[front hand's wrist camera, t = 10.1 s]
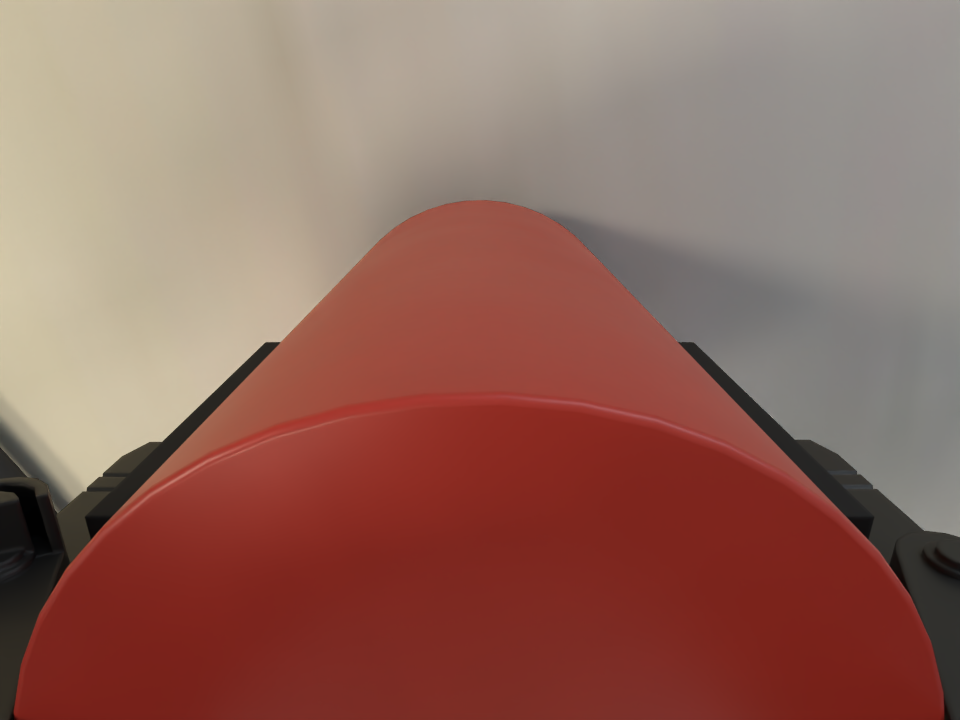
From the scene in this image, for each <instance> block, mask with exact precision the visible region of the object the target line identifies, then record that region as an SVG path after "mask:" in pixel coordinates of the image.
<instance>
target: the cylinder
mask: <svg viewBox="0 0 960 720" xmlns="http://www.w3.org/2000/svg"><path fill="white" fill-rule="evenodd" d="M14 720H944V693H943V689H942V685H941V680H940V676H939V672H938V668H937V663H936V659H935V655H934V651H933V647H932V643H931V640H930V638H929V636H928V634H927V632H926V629H925V627H924V625H923V623H922V621H921V618H920V616H919V614H918V612H917V609H916V607H915V605H914V603H913V601H912V598H911V596H910V595H909V593H908V592H907V590H906V589H905V587H904V586H903V584H902V583H901V582H900V580H899V579H898V577H897V576H896V574H895V573H894V572H893V570H892V569H891V567H890V566H889V564H888V563H887V562H886V560H885V559H884V557H883V556H882V554H881V553H880V552H879V550H878V549H877V548H876V547H875V546H874V545H873V544H872V543H871V542H870V541H869V540H868V539H867V538H866V537H865V536H864V535H863V534H862V533H861V532H860V531H859V530H858V529H857V528H856V527H855V526H854V524H853V523H852V522H851V521H850V520H849V519H848V518H847V517H846V516H845V515H844V514H843V513H842V512H841V511H840V510H839V509H838V508H837V507H836V506H835V505H834V504H833V503H832V502H831V501H830V500H829V499H828V498H827V496H826V495H825V494H824V493H823V492H822V491H821V490H820V489H819V488H818V487H817V486H816V485H815V484H814V483H813V482H812V481H811V480H810V479H809V478H808V477H807V476H806V475H805V474H804V473H803V472H802V471H801V470H800V468H799V467H798V466H797V465H796V464H795V463H794V462H793V461H792V460H791V459H790V458H789V457H788V456H787V455H786V454H785V453H784V452H783V451H782V450H781V449H780V448H779V447H778V446H777V445H776V444H775V443H774V442H773V440H772V439H771V438H770V437H769V436H768V435H767V434H766V433H765V432H764V431H763V430H762V429H761V428H760V427H759V426H758V425H757V424H756V423H755V422H754V421H753V420H752V419H751V418H750V417H749V416H748V415H747V414H746V412H745V411H744V410H743V409H742V408H741V407H740V406H739V405H738V404H737V403H736V402H735V401H734V400H733V399H732V398H731V397H730V396H729V395H728V394H727V393H726V392H725V391H724V390H723V389H722V388H721V387H720V385H719V384H718V383H717V382H716V381H715V380H714V379H713V378H712V377H711V376H710V375H709V374H708V373H707V372H706V371H705V370H704V369H703V368H702V367H701V366H700V365H699V364H698V363H697V362H696V361H695V360H694V359H693V357H692V356H691V355H690V354H689V353H688V352H687V351H686V350H685V349H684V348H683V347H682V346H681V345H680V344H679V343H678V342H677V341H676V340H675V339H674V338H673V337H672V336H671V335H670V334H669V333H668V332H667V331H666V329H665V328H664V327H663V326H662V325H661V324H660V323H659V322H658V321H657V320H656V319H655V318H654V317H653V316H652V315H651V314H650V313H649V312H648V311H647V310H646V309H645V308H644V307H643V306H642V305H641V304H640V303H639V301H638V300H637V299H636V298H635V297H634V296H633V295H632V294H631V293H630V292H629V291H628V290H627V289H626V288H625V287H624V286H623V285H622V284H621V283H620V282H619V281H618V280H617V279H616V278H615V277H614V276H613V275H612V273H611V272H610V271H609V270H608V269H607V268H606V267H605V266H604V265H603V264H602V263H601V262H600V261H599V260H598V259H597V258H596V257H595V256H594V255H593V254H592V253H591V252H590V251H589V250H588V249H587V248H586V247H585V246H584V245H583V244H582V243H581V242H580V241H579V239H578V238H577V237H576V236H575V235H573V234H572V233H571V232H569V231H568V230H567V229H565V228H564V227H563V226H561V225H560V224H559V223H557V222H555V221H553V220H552V219H550V218H548V217H546V216H545V215H543V214H540V213H538V212H535V211H533V210H530V209H528V208H525V207H522V206H518V205H514V204H510V203H506V202H497V201H487V200H479V201H462V202H456V203H450V204H445V205H442V206H438V207H435V208H432V209H429V210H426V211H424V212H422V213H420V214H418V215H415V216H413V217H411V218H409V219H408V220H406V221H405V222H403V223H401V224H400V225H398V226H397V227H395V228H394V229H393V230H391V231H390V232H389V233H388V234H387V235H386V236H384V237H383V238H382V239H381V240H380V241H379V242H378V243H377V244H376V245H375V246H374V247H373V248H372V249H371V250H370V251H369V252H368V253H367V254H366V255H365V256H364V257H363V258H362V259H361V260H360V261H359V262H358V263H357V264H356V265H355V266H354V267H353V269H352V270H351V271H350V272H349V273H348V274H347V275H346V276H345V277H344V278H343V279H342V280H341V281H340V282H339V283H338V284H337V285H336V286H335V287H334V288H333V289H332V290H331V291H330V292H329V293H328V294H327V295H326V296H325V297H324V298H323V299H322V301H321V302H320V303H319V304H318V305H317V306H316V307H315V308H314V309H313V310H312V311H311V312H310V313H309V314H308V315H307V316H306V317H305V318H304V319H303V320H302V321H301V322H300V323H299V324H298V325H297V326H296V327H295V328H294V329H293V330H292V331H291V333H290V334H289V335H288V336H287V337H286V338H285V339H284V340H283V341H282V342H281V343H280V344H279V345H278V346H277V347H276V348H275V349H274V350H273V351H272V352H271V353H270V354H269V355H268V356H267V357H266V358H265V359H264V360H263V361H262V362H261V363H260V365H259V366H258V367H257V368H256V369H255V370H254V371H253V372H252V373H251V374H250V375H249V376H248V377H247V378H246V379H245V380H244V381H243V382H242V383H241V384H240V385H239V386H238V387H237V388H236V389H235V390H234V391H233V392H232V393H231V394H230V395H229V397H228V398H227V399H226V400H225V401H224V402H223V403H222V404H221V405H220V406H219V407H218V408H217V409H216V410H215V411H214V412H213V413H212V414H211V415H210V416H209V417H208V418H207V419H206V420H205V421H204V422H203V423H202V424H201V425H200V426H199V427H198V429H197V430H196V431H195V432H194V433H193V434H192V435H191V436H190V437H189V438H188V439H187V440H186V441H185V442H184V443H183V444H182V445H181V446H180V447H179V448H178V449H177V450H176V451H175V452H174V453H173V454H172V455H171V456H170V457H169V458H168V459H167V461H166V462H165V463H164V464H163V465H162V466H161V467H160V468H159V469H158V470H157V471H156V472H155V473H154V474H153V475H152V476H151V477H150V478H149V479H148V480H147V481H146V482H145V483H144V484H143V485H142V486H141V487H140V488H139V489H138V490H137V491H136V493H135V494H134V495H133V496H132V497H131V498H130V499H129V500H128V501H127V502H126V503H125V504H124V505H123V506H122V507H121V508H120V509H119V510H118V511H117V512H116V513H115V514H114V515H113V516H112V517H111V518H110V519H109V520H108V521H107V522H106V523H105V525H104V526H103V527H102V528H101V529H100V530H99V531H98V532H97V534H96V535H95V536H94V537H93V538H92V539H91V541H90V542H89V543H88V544H87V545H86V546H85V547H84V549H83V550H82V551H81V552H80V553H79V554H78V555H77V557H76V558H75V559H74V560H73V561H72V562H71V564H70V565H69V566H68V567H67V568H66V570H65V571H64V573H63V575H62V576H61V578H60V580H59V581H58V583H57V585H56V586H55V588H54V590H53V591H52V593H51V595H50V596H49V598H48V600H47V602H46V603H45V605H44V607H43V608H42V610H41V612H40V613H39V616H38V619H37V621H36V624H35V627H34V630H33V632H32V635H31V638H30V641H29V643H28V646H27V649H26V652H25V654H24V657H23V660H22V663H21V668H20V674H19V680H18V687H17V693H16V700H15V706H14Z"/></svg>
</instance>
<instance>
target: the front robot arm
mask: <svg viewBox="0 0 960 720" xmlns="http://www.w3.org/2000/svg"><path fill="white" fill-rule="evenodd" d="M280 343H281V342H266V343H265V344H264V345H262V346H261V347H260V348H259V349H258V350H257V351H256V352H255V353H254V354H253V355H252V356H251V357H250V358H249V359H248V360H247V361H246V362H245V363H244V364H243V365H242V366H241V367H240V368H239V369H238V370H237V371H235V372H234V373H233V374H232V375H231V376H230V377H229V378H228V379H227V380H226V381H225V382H224V383H223V384H222V385H221V386H220V387H219V388H218V389H217V390H216V391H215V392H214V393H213V394H212V395H211V396H210V397H208V398H207V399H206V400H205V401H204V402H203V403H202V404H201V405H200V406H199V407H198V408H197V409H196V410H195V411H194V412H193V413H192V414H191V415H190V416H189V417H188V418H187V419H186V420H185V421H184V422H183V423H181V424H180V425H179V426H178V427H177V428H176V429H175V430H174V431H173V432H172V433H171V434H170V435H169V436H168V437H167V438H166V439H165V440H164V441H163V442H149V443H147V444H145V445H143V446H141V447H139V448H137V449H136V450H134V451H132V452H130V453H128V454H126V455H124V456H122V457H121V458H120V459H119V460H118V461H116V462H115V463H114V464H113V465H112V466H111V467H110V468H109V469H107V470H106V471H105V472H104V473H103V477H99V478H97V479H96V480H95V481H94V482H93V483H92V484H91V485H90V486H88V487H87V491H86V492H82V493H81V494H80V495H78V496H77V497H76V498H75V499H74V500H73V501H72V502H71V503H69V504H68V505H67V506H66V507H65V508H64V509H63V510H62V511H61V512H59V513H57V512H56V511H55V509H54V505H53V502H52V499H51V495H50V492H49V488H48V485H47V484H46V483H44V482H42V481H41V480H39V479H36V478H27V477H26V475H25V474H24V473H23V472H22V471H21V470H20V469H19V468H18V466H17V465H16V464H15V463H14V462H13V461H12V460H11V459H10V458H9V457H8V455H7V454H6V453H5V452H4V451H3V450H2V449H1V448H0V720H14V706H15V700H16V693H17V687H18V680H19V674H20V668H21V663H22V660H23V657H24V654H25V652H26V649H27V646H28V643H29V641H30V638H31V635H32V632H33V630H34V627H35V624H36V621H37V619H38V616H39V613H40V612H41V610H42V608H43V607H44V605H45V603H46V602H47V600H48V598H49V596H50V595H51V593H52V591H53V590H54V588H55V586H56V585H57V583H58V581H59V580H60V578H61V576H62V575H63V573H64V571H65V570H66V568H67V567H68V566H69V565H70V564H71V562H72V561H73V560H74V559H75V558H76V557H77V555H78V554H79V553H80V552H81V551H82V550H83V549H84V547H85V546H86V545H87V544H88V543H89V542H90V541H91V539H92V538H93V537H94V536H95V535H96V534H97V532H98V531H99V530H100V529H101V528H102V527H103V526H104V525H105V523H106V522H107V521H108V520H109V519H110V518H111V517H112V516H113V515H114V514H115V513H116V512H117V511H118V510H119V509H120V508H121V507H122V506H123V505H124V504H125V503H126V502H127V501H128V500H129V499H130V498H131V497H132V496H133V495H134V494H135V493H136V491H137V490H138V489H139V488H140V487H141V486H142V485H143V484H144V483H145V482H146V481H147V480H148V479H149V478H150V477H151V476H152V475H153V474H154V473H155V472H156V471H157V470H158V469H159V468H160V467H161V466H162V465H163V464H164V463H165V462H166V461H167V459H168V458H169V457H170V456H171V455H172V454H173V453H174V452H175V451H176V450H177V449H178V448H179V447H180V446H181V445H182V444H183V443H184V442H185V441H186V440H187V439H188V438H189V437H190V436H191V435H192V434H193V433H194V432H195V431H196V430H197V429H198V427H199V426H200V425H201V424H202V423H203V422H204V421H205V420H206V419H207V418H208V417H209V416H210V415H211V414H212V413H213V412H214V411H215V410H216V409H217V408H218V407H219V406H220V405H221V404H222V403H223V402H224V401H225V400H226V399H227V398H228V397H229V395H230V394H231V393H232V392H233V391H234V390H235V389H236V388H237V387H238V386H239V385H240V384H241V383H242V382H243V381H244V380H245V379H246V378H247V377H248V376H249V375H250V374H251V373H252V372H253V371H254V370H255V369H256V368H257V367H258V366H259V365H260V363H261V362H262V361H263V360H264V359H265V358H266V357H267V356H268V355H269V354H270V353H271V352H272V351H273V350H274V349H275V348H276V347H277V346H278V345H279V344H280ZM678 343H679V344H680V345H681V346H682V347H683V348H684V349H685V350H686V351H687V352H688V353H689V354H690V355H691V356H692V357H693V359H694V360H695V361H696V362H697V363H698V364H699V365H700V366H701V367H702V368H703V369H704V370H705V371H706V372H707V373H708V374H709V375H710V376H711V377H712V378H713V379H714V380H715V381H716V382H717V383H718V384H719V385H720V387H721V388H722V389H723V390H724V391H725V392H726V393H727V394H728V395H729V396H730V397H731V398H732V399H733V400H734V401H735V402H736V403H737V404H738V405H739V406H740V407H741V408H742V409H743V410H744V411H745V412H746V414H747V415H748V416H749V417H750V418H751V419H752V420H753V421H754V422H755V423H756V424H757V425H758V426H759V427H760V428H761V429H762V430H763V431H764V432H765V433H766V434H767V435H768V436H769V437H770V438H771V439H772V440H773V442H774V443H775V444H776V445H777V446H778V447H779V448H780V449H781V450H782V451H783V452H784V453H785V454H786V455H787V456H788V457H789V458H790V459H791V460H792V461H793V462H794V463H795V464H796V465H797V466H798V467H799V468H800V470H801V471H802V472H803V473H804V474H805V475H806V476H807V477H808V478H809V479H810V480H811V481H812V482H813V483H814V484H815V485H816V486H817V487H818V488H819V489H820V490H821V491H822V492H823V493H824V494H825V495H826V496H827V498H828V499H829V500H830V501H831V502H832V503H833V504H834V505H835V506H836V507H837V508H838V509H839V510H840V511H841V512H842V513H843V514H844V515H845V516H846V517H847V518H848V519H849V520H850V521H851V522H852V523H853V524H854V526H855V527H856V528H857V529H858V530H859V531H860V532H861V533H862V534H863V535H864V536H865V537H866V538H867V539H868V540H869V541H870V542H871V543H872V544H873V545H874V546H875V547H876V548H877V549H878V550H879V552H880V553H881V554H882V556H883V557H884V559H885V560H886V562H887V563H888V564H889V566H890V567H891V569H892V570H893V572H894V573H895V574H896V576H897V577H898V579H899V580H900V582H901V583H902V584H903V586H904V587H905V589H906V590H907V592H908V593H909V595H910V596H911V598H912V601H913V603H914V605H915V607H916V609H917V612H918V614H919V616H920V618H921V621H922V623H923V625H924V627H925V629H926V632H927V634H928V636H929V638H930V640H931V643H932V647H933V651H934V655H935V659H936V663H937V668H938V672H939V676H940V680H941V685H942V689H943V693H944V720H960V537H957V536H953V535H950V534H946V533H939V532H930V531H924V530H922V529H921V528H920V527H919V526H918V525H917V524H916V523H915V522H913V521H912V520H911V519H910V518H909V517H908V516H907V515H906V514H904V513H903V512H902V511H901V510H900V509H899V508H898V507H897V506H895V505H894V504H893V503H892V502H891V501H890V500H889V499H888V498H886V497H885V496H884V495H883V494H882V493H881V492H880V491H879V490H877V489H873V485H872V484H871V483H870V482H868V481H867V480H866V479H865V478H864V477H863V476H862V475H857V471H856V470H855V469H854V468H853V467H851V466H850V465H849V464H848V463H847V462H846V461H845V460H844V459H842V458H841V457H840V456H839V455H838V454H836V453H834V452H832V451H830V450H828V449H827V448H825V447H823V446H821V445H819V444H817V443H815V442H813V441H811V440H794V439H793V438H792V437H791V436H790V435H789V434H788V433H787V432H786V431H785V430H784V429H783V428H782V427H781V426H780V425H779V424H778V423H777V422H776V421H775V420H774V419H773V418H772V417H771V416H770V415H769V414H767V413H766V412H765V411H764V410H763V409H762V408H761V407H760V406H759V405H758V404H757V403H756V402H755V401H754V400H753V399H752V398H751V397H750V396H749V395H748V394H747V393H746V392H745V391H744V390H743V389H742V388H740V387H739V386H738V385H737V384H736V383H735V382H734V381H733V380H732V379H731V378H730V377H729V376H728V375H727V374H726V373H725V372H724V371H723V370H722V369H721V368H720V367H719V366H718V365H717V364H716V363H715V362H713V361H712V360H711V359H710V358H709V357H708V356H707V355H706V354H705V353H704V352H703V351H702V350H701V349H700V348H699V347H698V346H697V345H696V344H695V343H694V342H678Z"/></svg>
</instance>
